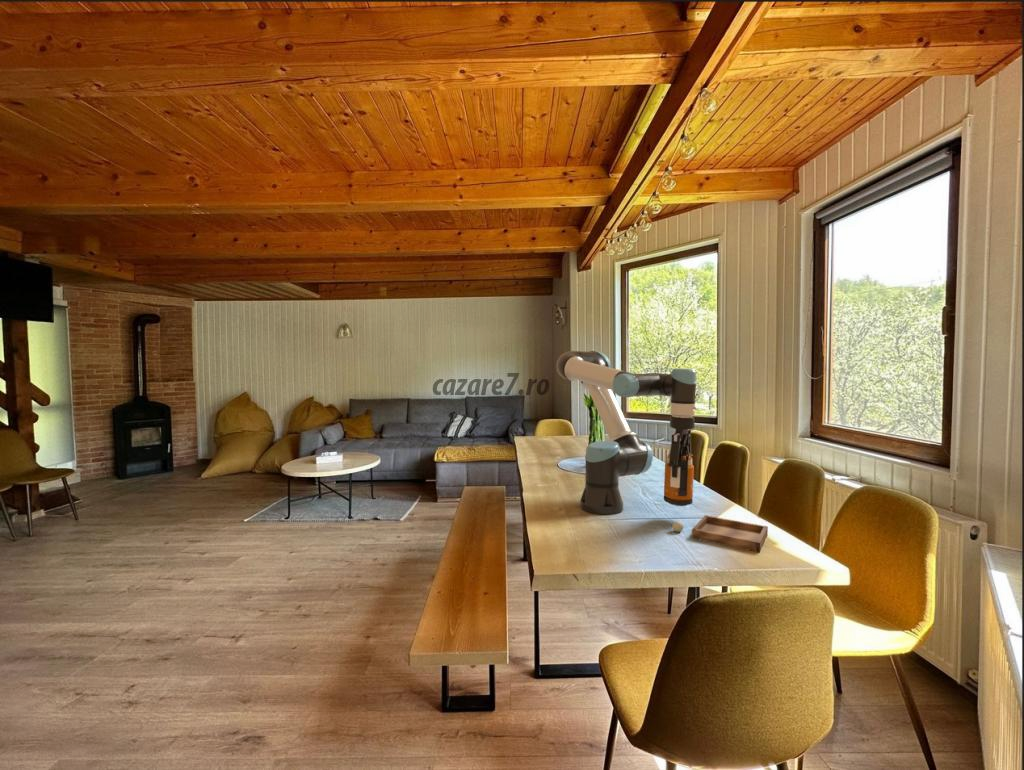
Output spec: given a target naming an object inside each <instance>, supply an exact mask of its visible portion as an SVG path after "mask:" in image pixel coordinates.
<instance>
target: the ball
mask: <svg viewBox="0 0 1024 770" xmlns="http://www.w3.org/2000/svg"><path fill="white" fill-rule="evenodd" d="M671 527H672V529H673V531H675V532H677V533H679V532H680V533H681V532H682V531H683V529H684V525H683V522H681V521H679V520H675V521H674V522H672V526H671Z"/></svg>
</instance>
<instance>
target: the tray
mask: <svg viewBox="0 0 1024 770" xmlns="http://www.w3.org/2000/svg"><path fill="white" fill-rule="evenodd" d="M768 529H769V527H768V526H767V525H761V524H757V523H751V522H745V521H738V520H733V519H728V518H723V517H718V516H711V515H706V514H705V515H704V516H703V517H702V518H701V519H700V520H699V521H698V523H697V524H696V525H694V527H693V528H692V529H691V538H692V539H694V538H695V539H696V540H699V539H701V540H700V541H704V540H705V541H704V542H709V541H710V543H713V542H715V543H714V544H718V543H719V545H724V546H729V547H732V546H733V548H737V549H742V550H747V549H748V550H747V551H751V550H752V552H756V551H757V553H760V552H761V551H762V548H763V547H764V544H765V541H766V540H765V539H767V538H768V533H769V531H768ZM695 539H694V540H695Z"/></svg>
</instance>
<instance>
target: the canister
mask: <svg viewBox="0 0 1024 770" xmlns="http://www.w3.org/2000/svg"><path fill="white" fill-rule="evenodd" d="M686 453H687V454H686ZM690 455H692V457H691V456H690ZM693 456H694V455H693V453H691V454H690V453H688V450H687V446H686V445H685V447H684V448H683V449H682V453H681V459H680V466H679V467H680V488H676V487H670V481H671V467H670V466H668V464H669V459H670V453H669V454H668V455H667V456H666V462H665V463H664V485H663V487H664V488H663V501H664V502H666V503H668V504H669V505H673V506H675V507H676V506H677V507H685V506H688V505H693V500H694V499H693V498H694V496H693V495H694V478H695V475H694V474H695V467H694V465H693ZM674 463H675V462H674Z"/></svg>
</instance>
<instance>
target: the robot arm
mask: <svg viewBox="0 0 1024 770" xmlns="http://www.w3.org/2000/svg"><path fill="white" fill-rule="evenodd" d="M611 366H612V365H611V362H610V359H609V358H608V356H607V355H606V354H605V353H603V352H602V351H596V350H590V351H589V350H588V351H587V350H585V351H582V350H581V351H580V350H570V351H566V352H564V353H562V354H561V355H560V356H559V358H557V361H556V371H557V373H558V375H559V377H562V378H563V379H564V380H568V381H571V382H576V381H580V383H581V385H582V387H583V388H584V389H586V390H588V393H589V394H590V397H591V399H592V401H593V403H594V406H595V409H596V411H597V412H598V416H599V417H600V420H601V423H602V425H603V427H604V429H605V431H606V434H607V437H608V439H609V440H604V441H603V440H599V441H594V442H591V443H589V444H588V445H586V449H585V455H584V459H585V473H584V474H585V476H584V477H585V478H584V479H585V481H584V482H585V484H584V485H585V486H584V489H583V491H582V495H581V497H580V502H579V507H580V509H581V510H583V511H584V512H587V513H590V514H596V515H597V514H598V515H614V514H619V513H621V512H622V511H624V502H623V501H624V500H623V498H622V495H621V492H620V488H619V478H620V477H626V476H628V477H629V476H638V475H640V474H645V473H646V472H648V471H649V470H650V468H651V466H652V463H653V461H654V459H653V458H654V457H653V454H654V453H653V450H652V447H651V446H650V444H648V443H647V442H645V441H643V440H641V439H640V438H639V435H638V434H637V433H636V432H633V431H632V430H631V428H630V426H629V424H628V421H627V420H626V417H625V415H624V413H623V410H622V408H621V405H620V404H619V401H618V400H617V398H616V395H617V396H618V397H621V398H622V397H623V398H631V397H633V398H634V397H652V396H653V397H654V396H663V397H670V408H669V409H670V410H669V414H670V415H671V416H670V417H669V427H670V428H672V429H675V432H674V433H673V434H672V435H671V444H670V445H671V446H670V450H669V451H670V453H669V454H670V459H669V464H668V466H670V467H671V481H670V487H676V488H680V467H679V466H680V459H681V453H682V449H683V448H684V447H685V445H686V446H687V450H688V453H690V454H692V430H693V429H694V428H695V421H696V420H695V417H693V416H695V413H696V412H695V411H696V410H697V408H698V407H697V406H696V390H697V372H696V370H695V369H693V368H682V367H681V368H673V369H672V370H671V373H659V372H649V373H633V372H628V371H624V370H621V369H616V368H613V367H611ZM614 393H615V394H616V395H615V394H614ZM686 454H687V453H686ZM692 455H693V454H692ZM692 455H690V456H691V457H692V458H693V456H692ZM674 462H675V463H674Z"/></svg>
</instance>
